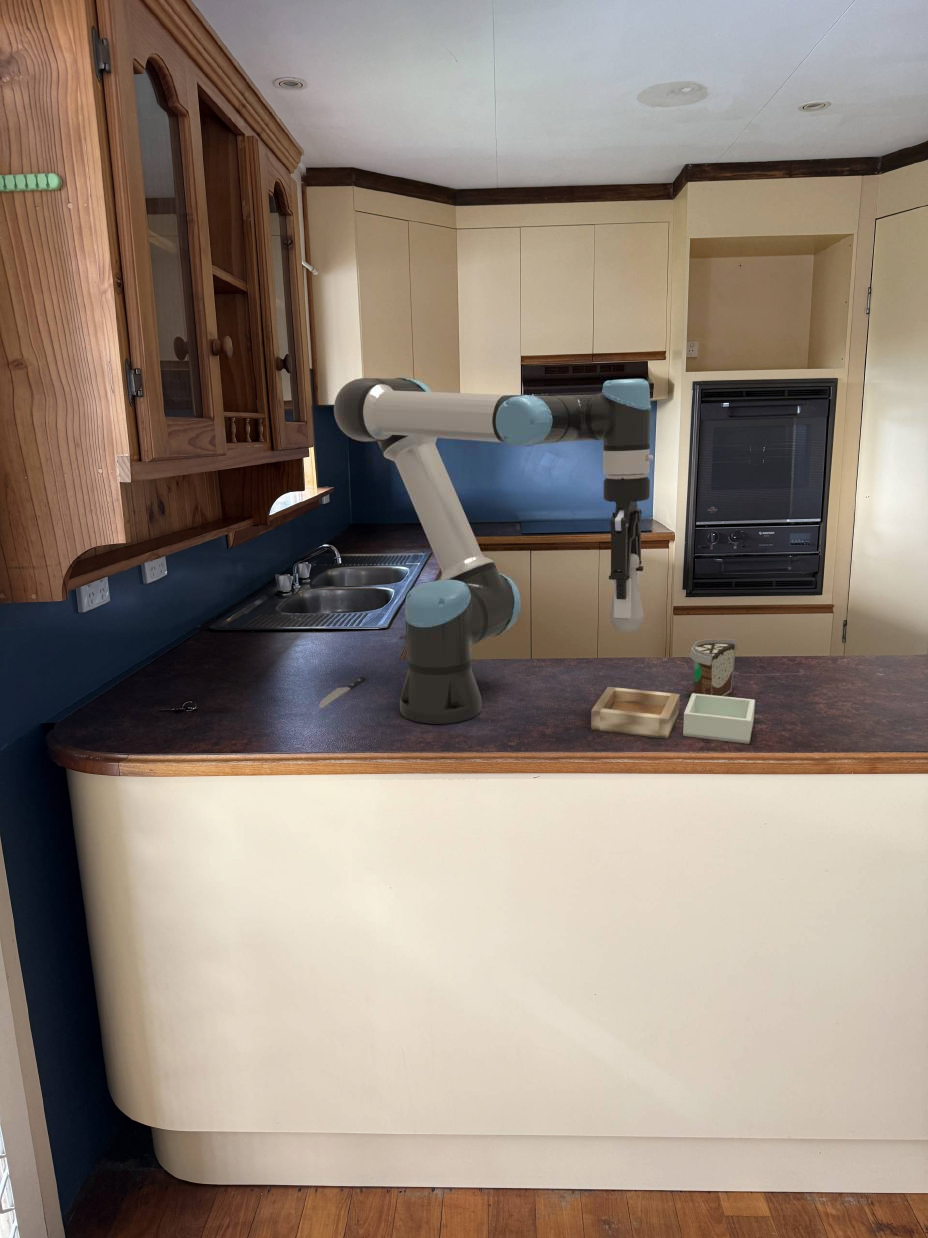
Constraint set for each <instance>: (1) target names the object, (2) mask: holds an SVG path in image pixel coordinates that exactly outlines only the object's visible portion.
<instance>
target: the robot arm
mask: <svg viewBox="0 0 928 1238" xmlns="http://www.w3.org/2000/svg"><path fill="white" fill-rule="evenodd" d="M650 390H651V389H650V385H649V382H648V381H647V380H646V379H644V378H627V379H626V378H624V379H613V380H606V381H604V383H603V385H602V390H601V393H594V394H576V395H574V394H573V395H571V394H570V395H527V394H525V395H524V394H520V395H519V394H510V395H509V394H493V393H492V394H491V393H488V394H487V393H467V392H466V393H465V392H464V393H462V392H442V391H441V392H439V391H438V392H437V391H436V392H435V391H432V390H431V389H430V387H428V386H427V385H426V384H425V383H423V382H422V381H419V380H416V379H411V378H407V377H394V378H383V377H382V378H380V377H379V378H376V377H373V378H372V377H362V378H361V377H360V378H355V379H353V380H351V381H349V382H347V383H346V384H344V385H343V386H342V387H341V388H340V390H339V391H338V392H337V394H336V397H335V399H334V404H333V416H334V418H335V422H336V424H337V426H338V428H339V429H340V430H341V431H342V433H344V434H345V435H346V436H347V437H349V438H351V439H352V440H355V441H358V442H359V441H360V442H377V444H378V445H379V448H380V450H381V452H382V455H383V457H384V458H385V459H386V460H387V459H388V460H390V461H392V462H394V463H395V466H396V468H397V471H398V472H399V475H400V477H401V479H402V481H403V484H404V486H405V489H406V490H407V494H408V496H409V498H410V500H411V502H412V505H413V507H414V511H415V512H416V515H417V517H418V519H419V522H420V523H421V526H422V528H423V531H424V533H425V536H426V538H427V540H428V542H429V545H430V547H431V549H432V552H433V554H434V557H435V558H436V561H437V564H438V566H439V568H440V571H441V577H440V580H439V579H438V580H435V581H428V582H423V583H421V584H419V585H416V586H415V587H413V588H411V590H409V592H408V593H407V594H406V597H405V610H404V619H405V635H406V638H405V639H406V653H407V673H406V677H405V681H404V684H403V687H402V691H401V693H400V694H401V695H400V697H399V711H400V715H401V716H403V717H404V718H405V719H408V720H409V721H412V722H417V723H421V724H428V725H429V724H430V725H432V724H433V725H444V724H452V723H453V724H454V723H461V722H464V721H467V720H470V719H473V718H474V717H476V716H477V715H479V714H480V713H481V712H482V709H483V708H482V695H481V693H480V690H479V689H480V688H479V687H478V684H477V682H476V681H477V680H476V679H475V676H474V673H473V670H472V669H473V668H472V646H473V645H476V644H478V643H481V642H483V641H485V640H488V639H491V638H494V637H497V636H499V635H501V634H503V633H504V632H505V631H507V630H509V629H511V627H513V625H514V624H515V623H516V621H517V619H518V618H519V614H520V613H521V607H522V605H521V604H522V601H521V595H520V590H519V588H518V587H517V585H516V583H515V582H514V580H512V579H511V578H510V577H508V576H506V574H503V573H499V570H498V569H497V566H496V563H495V562H494V560H493V559H491V558H488V557H486V556H484V555H483V553H482V551H481V549H480V546H479V543H478V541H477V539H476V536H475V534H474V532H473V529H472V527H471V525H470V523H469V521H468V517H467V516H466V513H465V512H464V509H463V506H462V503H461V502H460V500H459V497H458V494H457V492H456V489H455V487H454V485H453V483H452V481H451V478H450V476H449V473H448V471H447V468H446V467H445V464H444V462H443V459H442V457H441V455H440V452H439V450H438V448H437V445H436V443H437V439H451V440H464V441H479V442H493V443H507V444H509V445H511V446H517V447H533V446H535V445H542V444H555V443H564V442H565V443H566V442H567V443H568V442H579V441H583V442H584V441H602V444H603V445H602V446H603V448H602V450H603V451H602V452H603V453H602V455H603V456H602V459H603V460H602V465H603V466H602V467H603V468H602V469H603V470H602V473H603V475H604V476H606V478H604V480H603V499H604V501H606V502H610V503H611V502H613V503H615V511H614V512H612V517H610V520H609V524H610V574H609V575H608V580H610V581H611V580H613V593H614V617H616V618H631V579H629V578H630V575H629V572H630V556H631V554H635V555H637V556H638V557H639V567H638V568H636V574H637V580H638V585H639V583H640V581H639V577H640V573H639V572H643V571H644V566H643V565H642V514H643V510H642V509H641V508H639V509H638V502H642V501H643V502H644V501H647V500H649V499H650V497H651V496H650V495H651V490H650V488H651V486H650V484H651V483H650V482H651V481H650V478H649V477H648V476H646V475H649V473H650V462H652V461H654V456H653V454H650V452H651V450H650V449H651V447H650V446H651V444H650V438H651V437H650V435H651V410H652V405H651V394H650V392H651V391H650ZM618 570H621V571H618Z"/></svg>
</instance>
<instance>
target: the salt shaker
mask: <svg viewBox="0 0 928 1238" xmlns="http://www.w3.org/2000/svg"><path fill="white" fill-rule="evenodd" d="M639 566H640V565H639V557H638V556H637V555H635V554H631V556H630V572H629V575H630V578H629V579H631V618H616V617H614V592H613V593H612V598H611V604H610V609H609V615H608V616H609V620H610V622H611V624H612V627H613V629H614V631H619V632H624V633H625V632H628V633H629V632H635V631H637V630H639V629H640V628H641V625H642V622H643V620H644V618H645V617H644V616H645V614H644V609H643V603H642V599H641V598H642V597H641V590H640V586H639V585H638V580H637V574H636V572H637V571H636V568H638V567H639ZM618 571H621V570H618Z"/></svg>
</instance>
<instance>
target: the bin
mask: <svg viewBox="0 0 928 1238" xmlns="http://www.w3.org/2000/svg"><path fill="white" fill-rule="evenodd" d="M755 704H756V700H755V699H751V698H742V697H731V696H714V695H705V694H695V692H692V693H691V695H690V697H689V700H688V703H687V705H686V708H685V710H684V712H683V730H682V736H683V737H690V738H698V739H705V740H715V741H722V742H730V743H739V744H749V745H750V743H751V736H752V732H753V726H754V717H755V706H756V705H755Z"/></svg>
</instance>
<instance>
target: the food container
mask: <svg viewBox="0 0 928 1238" xmlns="http://www.w3.org/2000/svg"><path fill="white" fill-rule="evenodd" d="M737 648H738V645H737V639H731V638H729V639H728V638H709V639H703V640H698V641H696V642H694V644H693V645H692V647H691V650H690V654H689V657H690V659H691V660H693V677H694V679H693V680H694V681H693V683H694V688H693V689H694V693H695V694H705V695H714V696H724V697H726V695H728V694H729V693H731V692H732V691H733V690H732V689H733V677H734V667H735V661H736V660H735V658H736V651H737V650H738V649H737Z"/></svg>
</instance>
